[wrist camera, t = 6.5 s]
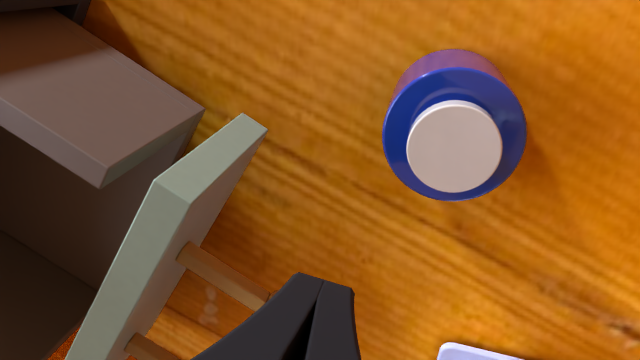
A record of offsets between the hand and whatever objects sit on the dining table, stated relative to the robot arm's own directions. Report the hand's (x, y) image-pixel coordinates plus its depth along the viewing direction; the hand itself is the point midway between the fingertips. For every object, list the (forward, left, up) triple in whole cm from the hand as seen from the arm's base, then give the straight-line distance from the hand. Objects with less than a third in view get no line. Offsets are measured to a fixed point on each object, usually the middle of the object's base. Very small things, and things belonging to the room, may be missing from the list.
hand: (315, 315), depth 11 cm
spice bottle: (+3, -3, -9) cm, 10 cm away
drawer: (-3, +10, -9) cm, 13 cm away
